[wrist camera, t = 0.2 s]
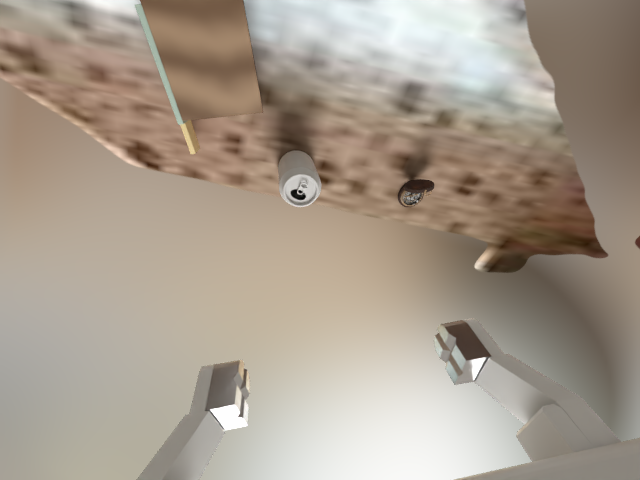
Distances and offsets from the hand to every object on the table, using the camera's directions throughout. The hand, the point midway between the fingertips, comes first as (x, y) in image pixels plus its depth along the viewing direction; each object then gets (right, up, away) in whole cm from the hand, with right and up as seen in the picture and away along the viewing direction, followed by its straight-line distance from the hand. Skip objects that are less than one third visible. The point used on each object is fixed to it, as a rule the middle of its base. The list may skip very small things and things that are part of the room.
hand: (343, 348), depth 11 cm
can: (-6, +20, +44) cm, 48 cm away
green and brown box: (-18, +33, +31) cm, 49 cm away
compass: (+21, +16, +51) cm, 58 cm away
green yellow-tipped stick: (-24, +30, +32) cm, 50 cm away
